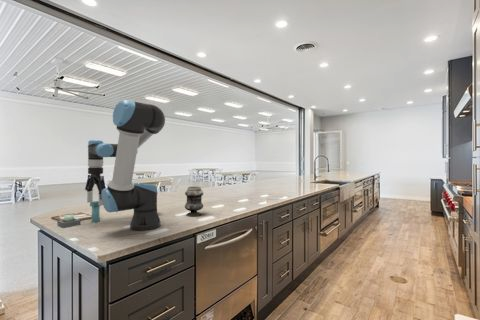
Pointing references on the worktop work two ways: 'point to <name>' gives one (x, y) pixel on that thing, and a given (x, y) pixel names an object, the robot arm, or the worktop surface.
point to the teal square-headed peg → (95, 211)
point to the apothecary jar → (194, 201)
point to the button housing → (68, 223)
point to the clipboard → (76, 215)
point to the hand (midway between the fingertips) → (95, 203)
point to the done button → (68, 218)
